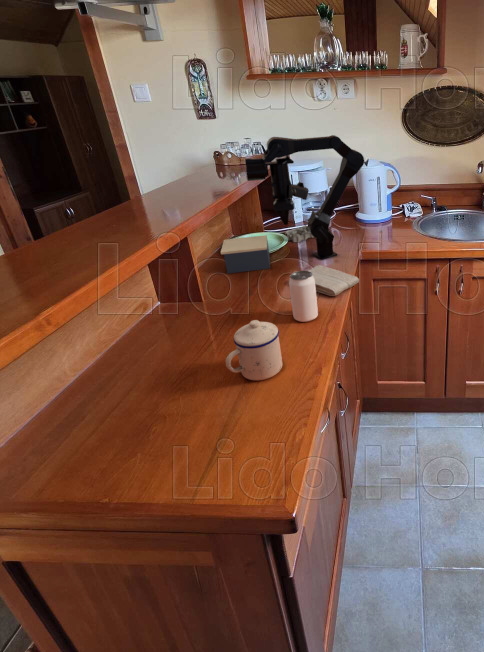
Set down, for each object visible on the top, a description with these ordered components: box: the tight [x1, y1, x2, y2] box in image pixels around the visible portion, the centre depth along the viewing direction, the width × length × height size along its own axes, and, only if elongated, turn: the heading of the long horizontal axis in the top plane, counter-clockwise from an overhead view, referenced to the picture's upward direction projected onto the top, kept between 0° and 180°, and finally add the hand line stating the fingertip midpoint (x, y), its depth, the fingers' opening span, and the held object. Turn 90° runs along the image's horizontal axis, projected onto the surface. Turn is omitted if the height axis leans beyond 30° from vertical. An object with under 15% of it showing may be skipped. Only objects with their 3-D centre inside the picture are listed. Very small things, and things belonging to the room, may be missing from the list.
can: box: [288, 270, 319, 323], centre depth 108 cm, size 6×6×12 cm
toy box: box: [223, 240, 271, 274], centre depth 143 cm, size 14×13×7 cm
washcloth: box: [307, 264, 360, 297], centre depth 128 cm, size 12×18×3 cm, turn 54°
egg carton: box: [285, 224, 315, 243], centre depth 167 cm, size 11×8×4 cm
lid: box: [220, 235, 268, 255], centre depth 142 cm, size 14×13×1 cm
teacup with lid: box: [225, 319, 283, 381], centre depth 87 cm, size 12×9×12 cm
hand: (286, 224), depth 142 cm, fingers closed
